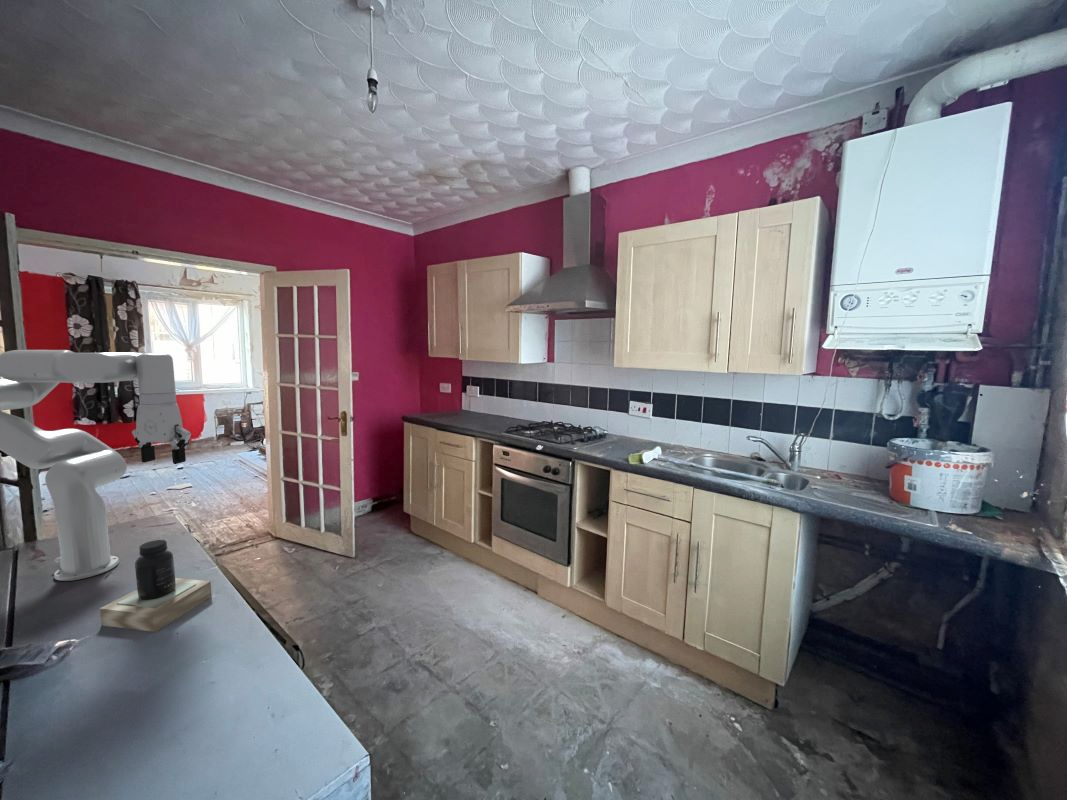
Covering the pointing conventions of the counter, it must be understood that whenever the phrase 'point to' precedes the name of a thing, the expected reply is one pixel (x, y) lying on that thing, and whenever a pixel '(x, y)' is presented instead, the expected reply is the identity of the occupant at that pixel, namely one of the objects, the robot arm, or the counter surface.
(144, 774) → the counter surface
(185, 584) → the birch stand
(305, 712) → the counter surface
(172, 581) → the supplement bottle
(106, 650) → the counter surface
